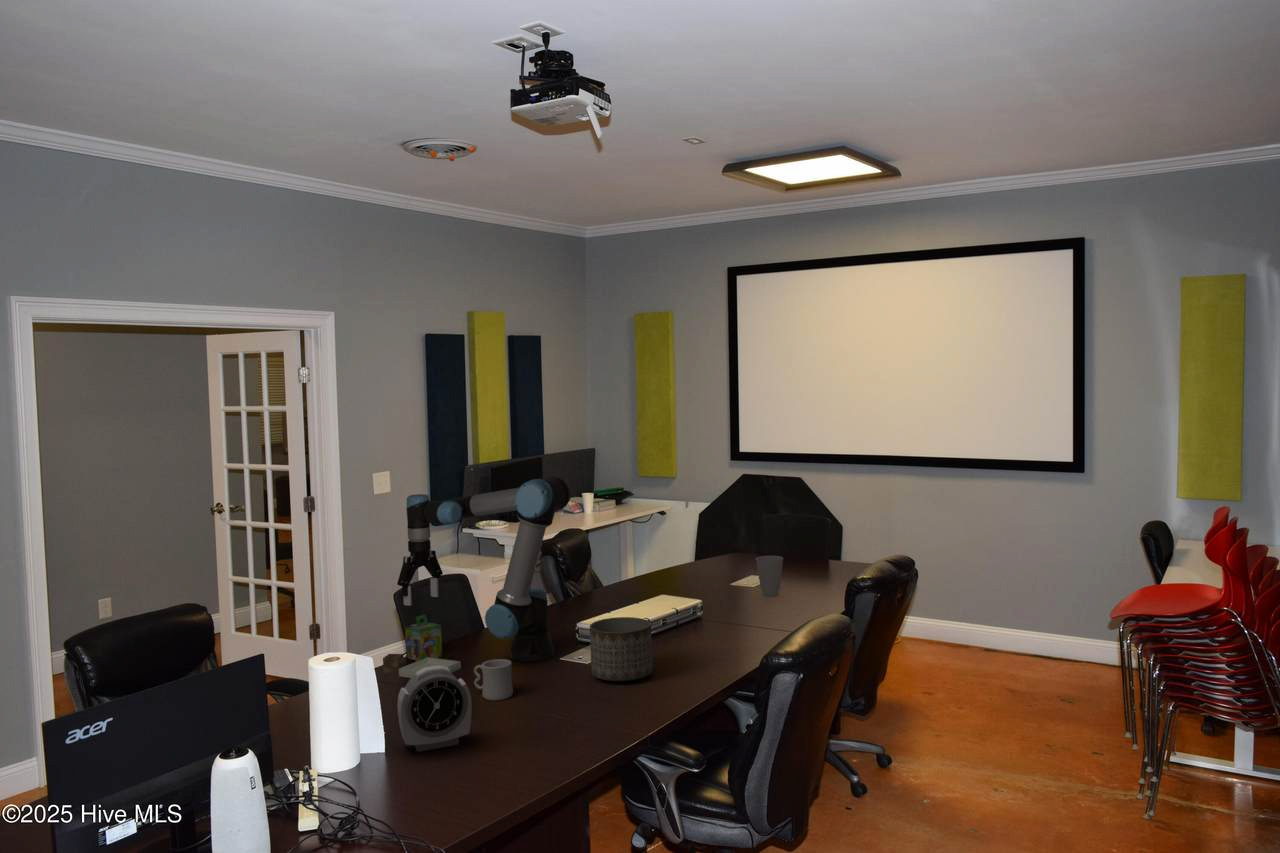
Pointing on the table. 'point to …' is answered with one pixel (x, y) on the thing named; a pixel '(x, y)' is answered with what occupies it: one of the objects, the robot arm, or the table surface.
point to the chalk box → (423, 640)
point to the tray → (427, 662)
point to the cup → (769, 574)
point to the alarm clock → (434, 709)
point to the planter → (621, 649)
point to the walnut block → (393, 663)
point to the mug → (495, 679)
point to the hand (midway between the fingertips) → (421, 600)
